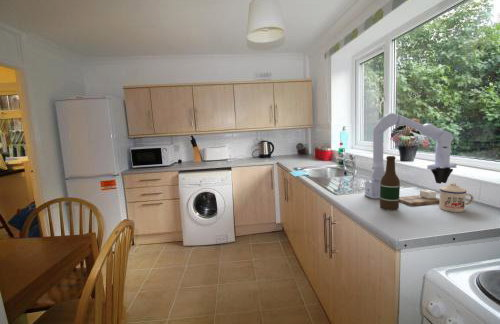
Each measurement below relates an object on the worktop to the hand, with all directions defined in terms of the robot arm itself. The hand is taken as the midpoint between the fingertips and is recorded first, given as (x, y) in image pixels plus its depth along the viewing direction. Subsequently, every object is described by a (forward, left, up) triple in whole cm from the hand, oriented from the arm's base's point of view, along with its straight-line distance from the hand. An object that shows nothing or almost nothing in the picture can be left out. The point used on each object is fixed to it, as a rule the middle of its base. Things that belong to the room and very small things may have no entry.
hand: (440, 182), depth 122 cm
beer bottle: (-32, -5, -9) cm, 34 cm away
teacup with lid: (-7, -14, -9) cm, 18 cm away
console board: (-12, 0, -8) cm, 15 cm away
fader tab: (-7, 0, -6) cm, 10 cm away
